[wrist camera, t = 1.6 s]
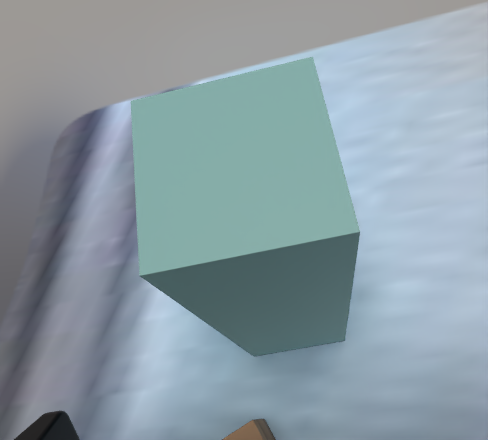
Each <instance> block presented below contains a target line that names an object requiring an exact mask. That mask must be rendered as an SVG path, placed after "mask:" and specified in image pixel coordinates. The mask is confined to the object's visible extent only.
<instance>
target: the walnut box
mask: <svg viewBox="0 0 488 440" xmlns="http://www.w3.org/2000/svg"><path fill="white" fill-rule="evenodd" d="M222 440H276V439H275V437H274V436H273V434H272V432H271V430H270V428H269V426H268V425H267V423H266V421H265V419H256V420H252V421H250V422H248V423H247V424H245V425H244V426H242V427H241V428H239V429H238V430H236V431H234V432H233V433H231V434H230V435H228V436H227V437H225V438H224V439H222Z"/></svg>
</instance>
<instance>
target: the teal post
mask: <svg viewBox="0 0 488 440" xmlns="http://www.w3.org/2000/svg"><path fill="white" fill-rule="evenodd" d="M131 115H132V135H133V154H134V174H135V194H136V214H137V233H138V253H139V273H140V276H141V277H142V278H143V279H145V280H146V281H148V282H149V283H151V284H152V285H153V286H155V287H156V288H158V289H159V290H160V291H162V292H163V293H165V294H166V295H168V296H169V297H170V298H172V299H173V300H175V301H176V302H178V303H179V304H180V305H182V306H183V307H185V308H186V309H187V310H189V311H190V312H192V313H193V314H195V315H196V316H197V317H199V318H200V319H202V320H203V321H204V322H206V323H207V324H209V325H210V326H212V327H213V328H214V329H216V330H217V331H219V332H220V333H221V334H223V335H224V336H226V337H227V338H229V339H230V340H231V341H233V342H234V343H236V344H237V345H238V346H240V347H241V348H243V349H244V350H246V351H247V352H248V353H250V354H251V355H253V356H260V355H265V354H271V353H277V352H283V351H288V350H294V349H300V348H305V347H311V346H317V345H323V344H328V343H334V342H340V341H345V335H346V328H347V321H348V313H349V306H350V299H351V292H352V285H353V278H354V271H355V264H356V257H357V250H358V242H359V235H360V230H359V226H358V223H357V219H356V215H355V211H354V208H353V204H352V200H351V197H350V193H349V189H348V186H347V182H346V178H345V175H344V171H343V167H342V163H341V160H340V156H339V152H338V149H337V145H336V141H335V138H334V134H333V130H332V127H331V123H330V119H329V115H328V112H327V108H326V104H325V101H324V97H323V93H322V90H321V86H320V82H319V79H318V75H317V71H316V67H315V64H314V60H313V57H310V58H306V59H301V60H297V61H293V62H289V63H285V64H281V65H277V66H273V67H269V68H264V69H260V70H256V71H252V72H248V73H244V74H240V75H236V76H232V77H228V78H223V79H219V80H215V81H211V82H207V83H203V84H199V85H195V86H191V87H187V88H182V89H178V90H174V91H170V92H166V93H162V94H158V95H154V96H150V97H145V98H141V99H137V100H133V101H131Z"/></svg>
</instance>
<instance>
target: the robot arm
mask: <svg viewBox="0 0 488 440" xmlns="http://www.w3.org/2000/svg"><path fill="white" fill-rule="evenodd" d="M14 440H80V439H79V437H78V435H77V433H76V430H75V428H74V426H73V424H72V422H71V420H70V418H69V416H68V414H67V413H66V412H64V411H55V412H49V413H45V414H43V415H42V416H41V417H40V418H38V419H37V420H36V421H35V422H34V423H33V424H31V425H30V426H29V427H28V428H27V429H26V430H25V431H23V432H22V433H21V434H20V435H19V436H18V437H16V438H15V439H14Z"/></svg>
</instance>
